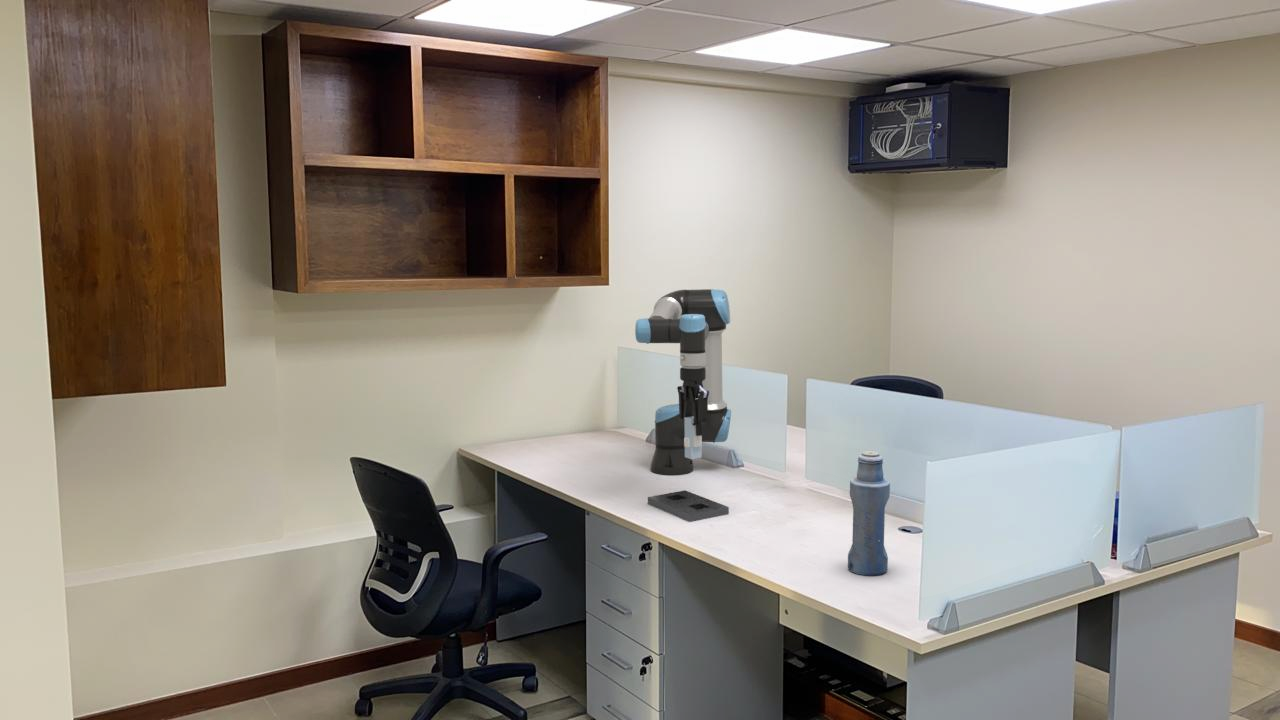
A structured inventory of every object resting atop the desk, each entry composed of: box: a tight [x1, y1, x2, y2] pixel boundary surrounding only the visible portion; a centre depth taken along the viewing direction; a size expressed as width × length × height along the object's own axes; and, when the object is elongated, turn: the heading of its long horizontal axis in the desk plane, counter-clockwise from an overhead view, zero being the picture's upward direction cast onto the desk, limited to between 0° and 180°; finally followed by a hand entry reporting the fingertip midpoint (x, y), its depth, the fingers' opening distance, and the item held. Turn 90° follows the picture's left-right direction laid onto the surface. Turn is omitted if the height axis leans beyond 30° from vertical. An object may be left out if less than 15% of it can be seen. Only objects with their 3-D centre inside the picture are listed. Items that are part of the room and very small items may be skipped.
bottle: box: [847, 450, 891, 576], centre depth 247 cm, size 10×10×30 cm
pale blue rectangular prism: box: [684, 416, 703, 460], centre depth 296 cm, size 4×4×12 cm
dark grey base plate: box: [647, 490, 730, 523], centre depth 302 cm, size 14×23×3 cm, turn 32°
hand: (693, 444), depth 296 cm, fingers closed on pale blue rectangular prism, 4 cm apart
